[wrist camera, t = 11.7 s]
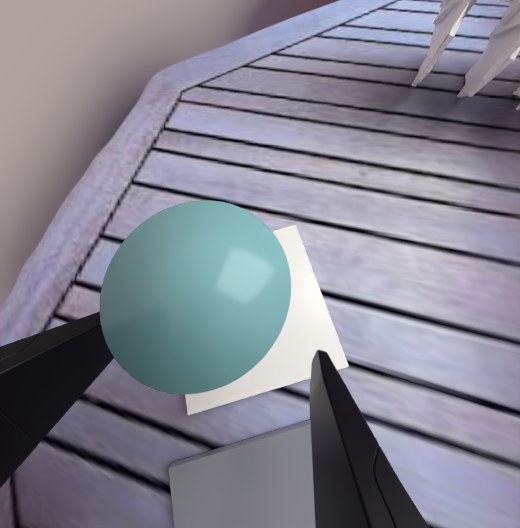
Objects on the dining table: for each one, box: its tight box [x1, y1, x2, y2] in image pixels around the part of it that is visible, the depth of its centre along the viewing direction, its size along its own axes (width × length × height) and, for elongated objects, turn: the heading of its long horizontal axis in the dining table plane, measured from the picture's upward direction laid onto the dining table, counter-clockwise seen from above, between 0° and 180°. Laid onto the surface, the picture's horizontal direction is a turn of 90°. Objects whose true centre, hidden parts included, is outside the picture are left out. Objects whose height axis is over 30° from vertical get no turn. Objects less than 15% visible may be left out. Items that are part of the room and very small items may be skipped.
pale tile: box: [185, 225, 349, 415], centre depth 17 cm, size 14×14×1 cm
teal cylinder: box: [100, 201, 291, 394], centre depth 11 cm, size 5×5×13 cm
